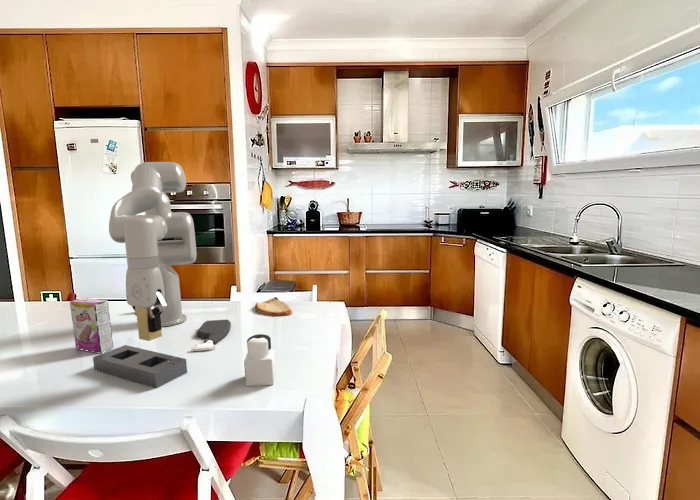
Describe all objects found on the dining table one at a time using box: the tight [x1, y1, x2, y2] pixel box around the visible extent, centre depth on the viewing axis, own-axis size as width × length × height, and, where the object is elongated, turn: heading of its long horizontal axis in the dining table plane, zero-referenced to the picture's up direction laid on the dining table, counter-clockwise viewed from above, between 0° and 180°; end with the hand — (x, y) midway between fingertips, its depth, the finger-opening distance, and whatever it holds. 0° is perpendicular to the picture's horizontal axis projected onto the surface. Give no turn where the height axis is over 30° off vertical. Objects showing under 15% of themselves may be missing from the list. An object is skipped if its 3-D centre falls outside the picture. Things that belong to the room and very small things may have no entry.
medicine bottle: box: [243, 333, 277, 387], centre depth 110 cm, size 7×7×12 cm
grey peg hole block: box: [92, 344, 188, 389], centre depth 117 cm, size 26×10×4 cm, turn 63°
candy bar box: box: [69, 297, 114, 354], centre depth 134 cm, size 11×5×16 cm, turn 71°
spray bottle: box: [190, 319, 232, 352], centre depth 143 cm, size 3×11×24 cm
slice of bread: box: [253, 297, 293, 317], centre depth 174 cm, size 18×18×4 cm
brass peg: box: [136, 303, 163, 342], centre depth 112 cm, size 4×4×10 cm
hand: (149, 329), depth 112 cm, fingers closed on brass peg, 4 cm apart
